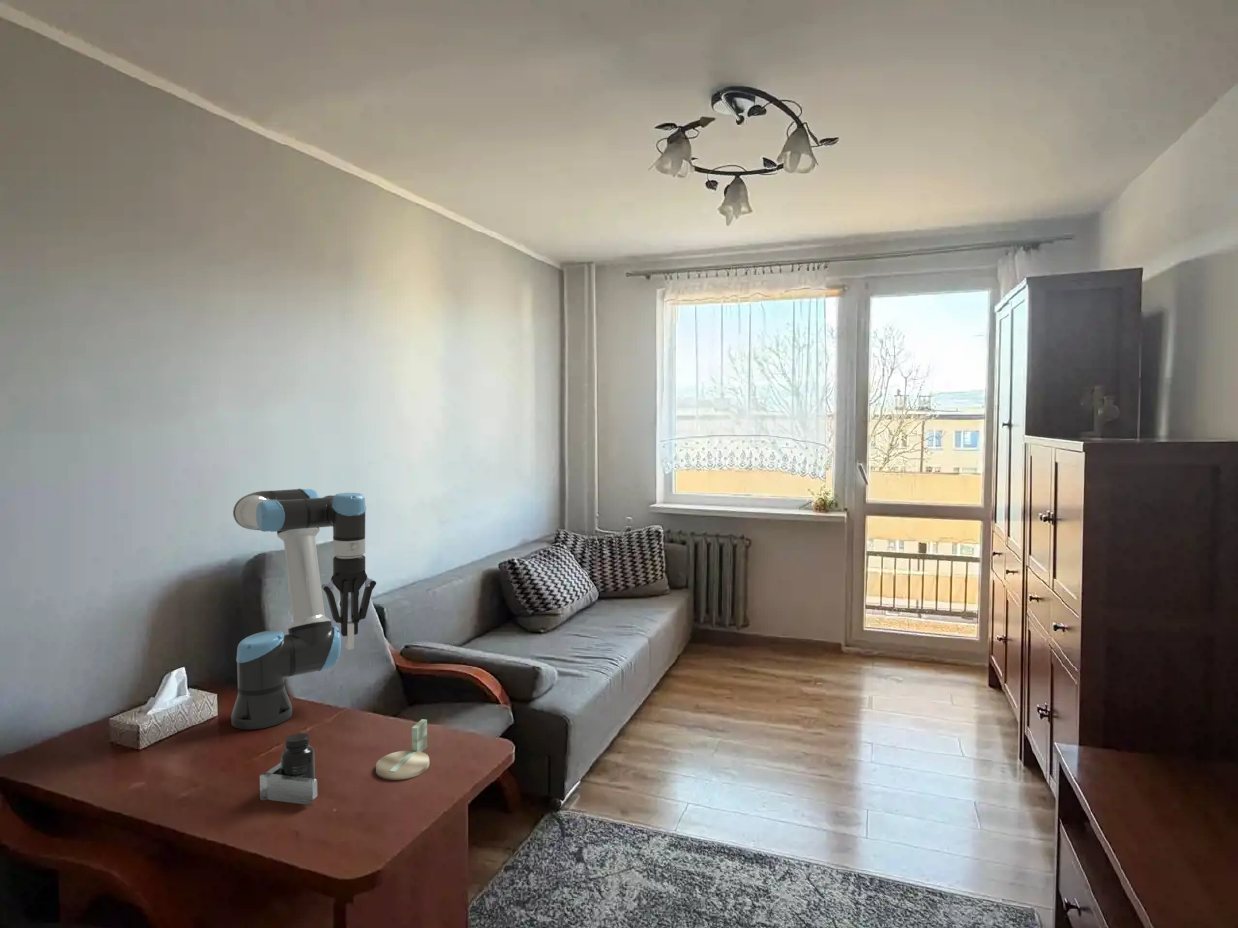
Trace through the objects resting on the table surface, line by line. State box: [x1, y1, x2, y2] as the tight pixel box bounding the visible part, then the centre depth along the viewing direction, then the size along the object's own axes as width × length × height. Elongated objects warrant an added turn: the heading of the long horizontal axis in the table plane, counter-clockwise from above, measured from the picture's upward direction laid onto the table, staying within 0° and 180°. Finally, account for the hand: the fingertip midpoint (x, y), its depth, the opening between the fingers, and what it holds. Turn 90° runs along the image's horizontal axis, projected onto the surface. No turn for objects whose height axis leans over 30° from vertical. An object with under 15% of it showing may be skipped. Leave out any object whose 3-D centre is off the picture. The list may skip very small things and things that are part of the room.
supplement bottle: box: [280, 732, 316, 779], centre depth 161 cm, size 7×7×12 cm
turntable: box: [375, 719, 430, 781], centre depth 172 cm, size 17×12×7 cm
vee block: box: [259, 761, 318, 806], centre depth 160 cm, size 18×10×5 cm, turn 33°
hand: (349, 647), depth 181 cm, fingers closed
